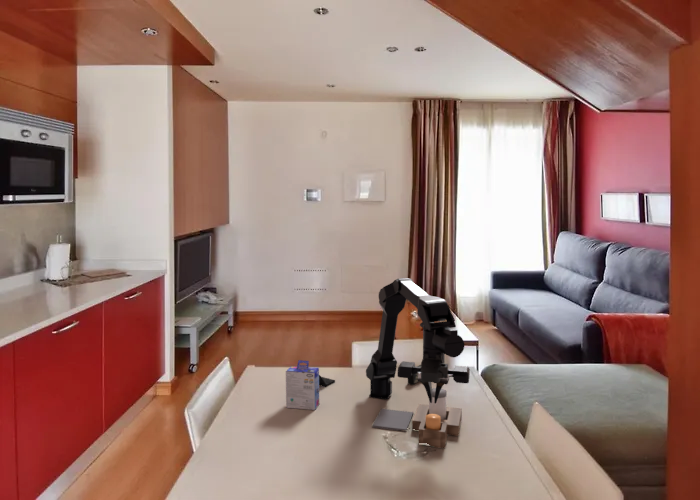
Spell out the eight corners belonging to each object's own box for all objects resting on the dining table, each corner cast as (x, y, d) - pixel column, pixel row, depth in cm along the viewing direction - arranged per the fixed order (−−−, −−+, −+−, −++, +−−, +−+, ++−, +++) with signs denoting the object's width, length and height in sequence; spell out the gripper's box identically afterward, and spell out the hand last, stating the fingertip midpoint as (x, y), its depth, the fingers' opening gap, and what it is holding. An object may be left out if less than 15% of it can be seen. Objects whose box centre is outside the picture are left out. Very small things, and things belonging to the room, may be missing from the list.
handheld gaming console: (337, 376, 184) (326, 359, 178) (332, 393, 179) (320, 377, 173) (310, 376, 189) (299, 360, 183) (304, 392, 184) (292, 377, 178)
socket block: (407, 443, 136) (407, 427, 136) (418, 413, 155) (418, 399, 155) (456, 449, 132) (456, 433, 132) (461, 418, 151) (461, 403, 151)
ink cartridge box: (320, 403, 163) (319, 360, 162) (315, 410, 158) (315, 365, 156) (291, 401, 165) (290, 358, 164) (285, 408, 160) (284, 364, 158)
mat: (372, 427, 146) (372, 425, 146) (381, 410, 157) (381, 408, 157) (406, 431, 143) (406, 429, 143) (413, 414, 155) (413, 412, 154)
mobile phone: (413, 373, 177) (433, 360, 189) (406, 371, 179) (426, 359, 191) (413, 386, 178) (433, 373, 190) (406, 384, 180) (426, 371, 192)
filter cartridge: (427, 426, 146) (428, 393, 145) (430, 419, 151) (430, 387, 150) (445, 428, 144) (445, 395, 143) (446, 421, 149) (447, 389, 148)
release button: (424, 433, 135) (424, 419, 135) (426, 426, 139) (426, 413, 139) (439, 435, 134) (439, 420, 134) (441, 428, 138) (441, 414, 138)
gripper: (393, 352, 129) (393, 411, 131) (467, 358, 124) (467, 419, 126) (401, 340, 140) (401, 395, 141) (470, 345, 135) (469, 401, 136)
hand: (433, 402), depth 136 cm, fingers closed
